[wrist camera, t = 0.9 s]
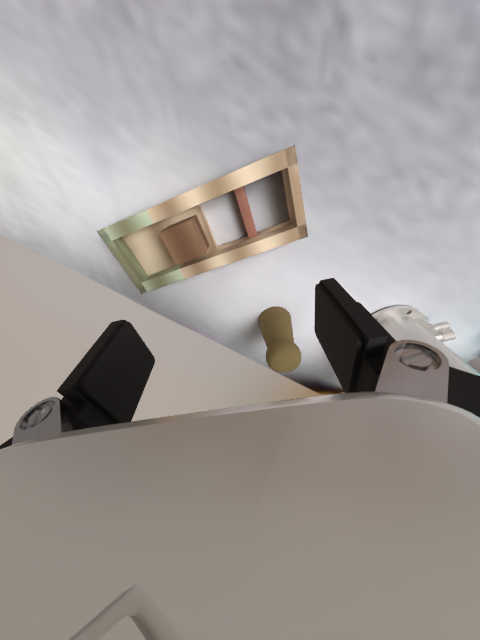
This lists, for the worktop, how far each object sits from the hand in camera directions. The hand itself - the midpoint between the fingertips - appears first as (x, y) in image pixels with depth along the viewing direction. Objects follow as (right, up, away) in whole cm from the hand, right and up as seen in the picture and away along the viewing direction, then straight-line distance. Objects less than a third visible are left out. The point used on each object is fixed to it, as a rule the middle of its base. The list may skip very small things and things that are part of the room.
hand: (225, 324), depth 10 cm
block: (-6, +12, +17) cm, 21 cm away
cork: (+7, 0, +28) cm, 28 cm away
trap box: (-4, +13, +18) cm, 23 cm away
